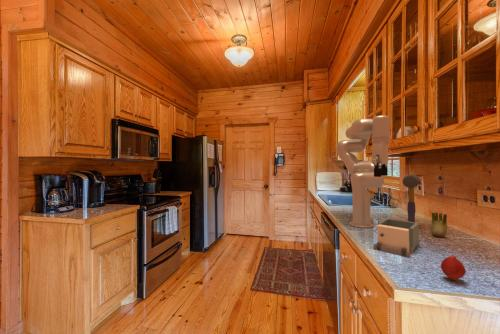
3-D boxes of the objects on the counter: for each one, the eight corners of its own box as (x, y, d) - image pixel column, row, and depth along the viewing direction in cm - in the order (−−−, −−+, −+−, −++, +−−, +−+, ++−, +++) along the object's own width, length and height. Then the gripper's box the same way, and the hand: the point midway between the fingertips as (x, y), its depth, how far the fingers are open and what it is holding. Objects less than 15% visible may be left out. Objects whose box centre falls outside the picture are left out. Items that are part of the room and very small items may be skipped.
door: (379, 246, 102) (379, 224, 102) (409, 253, 94) (409, 229, 94) (376, 249, 99) (376, 226, 99) (406, 256, 92) (406, 231, 91)
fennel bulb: (448, 238, 112) (448, 213, 112) (440, 239, 111) (440, 214, 111) (436, 234, 118) (436, 211, 118) (428, 235, 117) (428, 211, 117)
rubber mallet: (418, 231, 124) (418, 175, 123) (401, 228, 129) (401, 174, 128) (420, 226, 133) (420, 174, 133) (405, 224, 138) (405, 173, 138)
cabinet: (386, 238, 112) (386, 218, 112) (418, 245, 103) (418, 223, 103) (373, 249, 100) (373, 225, 99) (409, 257, 90) (409, 232, 90)
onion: (438, 279, 74) (438, 254, 74) (443, 273, 77) (443, 249, 77) (463, 286, 69) (463, 260, 69) (467, 280, 73) (467, 255, 72)
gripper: (378, 142, 123) (378, 175, 123) (366, 141, 111) (366, 176, 111) (394, 141, 117) (394, 175, 118) (383, 139, 105) (383, 177, 106)
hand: (380, 176), depth 114 cm, fingers open, 9 cm apart
